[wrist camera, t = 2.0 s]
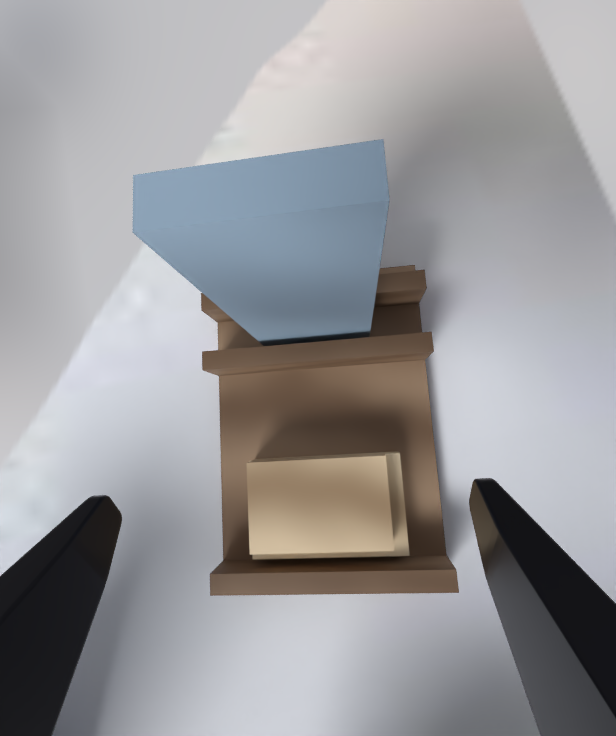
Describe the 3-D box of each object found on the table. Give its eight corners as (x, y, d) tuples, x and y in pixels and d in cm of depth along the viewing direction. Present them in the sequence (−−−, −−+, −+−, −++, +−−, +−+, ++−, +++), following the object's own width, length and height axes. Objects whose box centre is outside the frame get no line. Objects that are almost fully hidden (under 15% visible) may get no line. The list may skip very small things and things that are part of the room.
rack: (445, 570, 21) (461, 597, 17) (228, 574, 22) (206, 600, 19) (412, 270, 23) (421, 245, 20) (221, 290, 25) (200, 269, 21)
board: (369, 340, 22) (389, 200, 8) (267, 348, 23) (133, 232, 9) (366, 315, 22) (383, 139, 9) (266, 324, 23) (133, 175, 9)
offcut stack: (406, 548, 20) (412, 564, 18) (258, 551, 21) (246, 567, 19) (397, 451, 21) (402, 454, 19) (254, 459, 22) (242, 462, 20)
